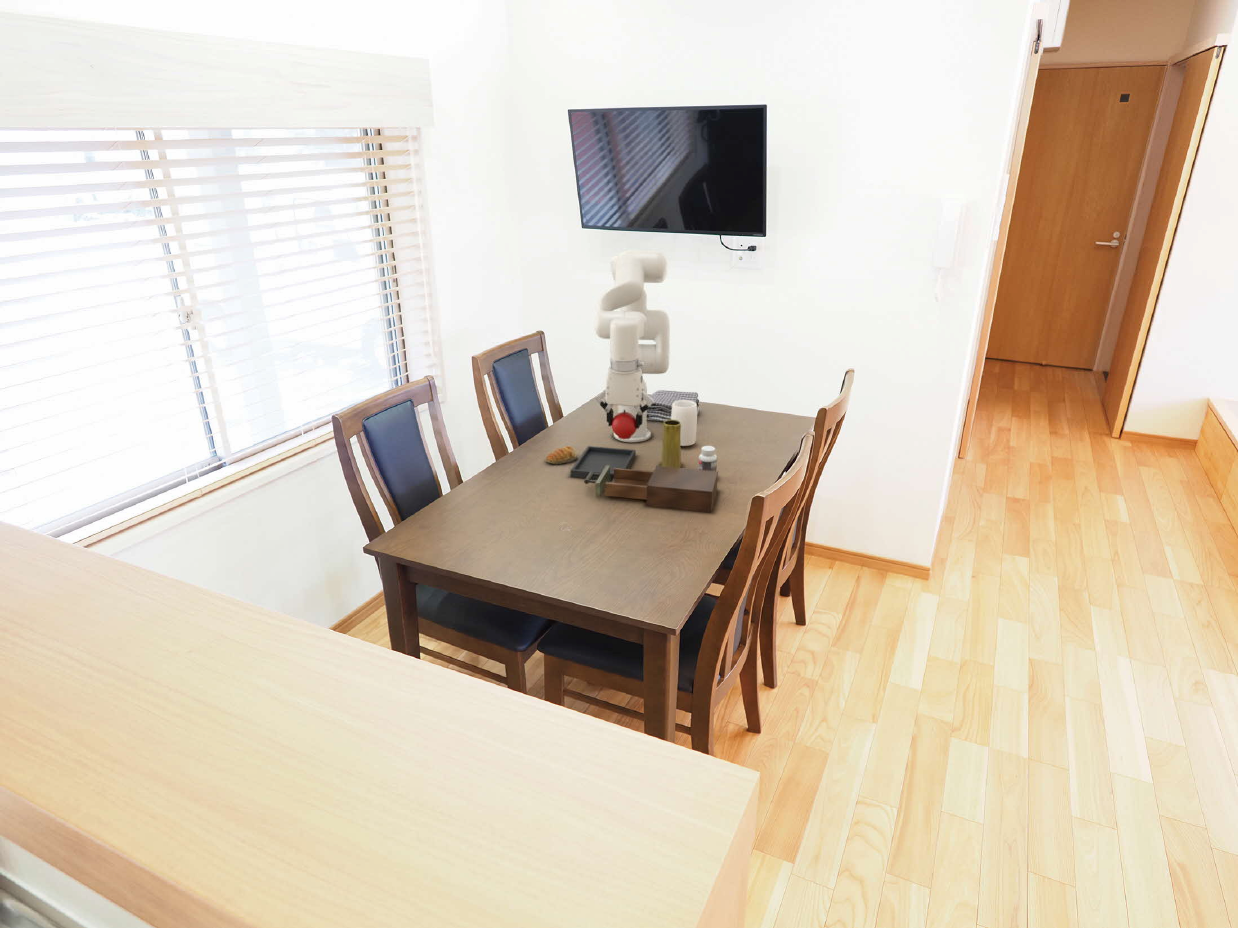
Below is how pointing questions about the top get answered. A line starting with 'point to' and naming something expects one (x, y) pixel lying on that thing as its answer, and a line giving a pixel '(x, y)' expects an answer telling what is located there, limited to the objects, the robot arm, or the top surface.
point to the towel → (667, 403)
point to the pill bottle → (707, 459)
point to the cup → (686, 420)
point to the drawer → (621, 483)
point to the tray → (602, 461)
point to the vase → (671, 444)
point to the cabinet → (682, 489)
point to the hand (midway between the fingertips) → (624, 425)
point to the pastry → (562, 455)
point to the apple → (624, 425)
